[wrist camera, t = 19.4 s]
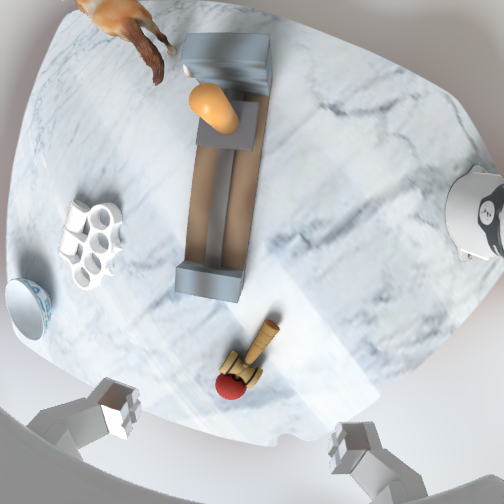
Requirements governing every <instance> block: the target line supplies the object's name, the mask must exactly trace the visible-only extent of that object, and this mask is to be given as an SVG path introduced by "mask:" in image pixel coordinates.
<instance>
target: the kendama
mask: <svg viewBox="0 0 504 504" xmlns="http://www.w3.org/2000/svg"><path fill="white" fill-rule="evenodd" d="M279 330H280V329H279V327H278V326H277V325H276V324H275V323H273V322H271V321H268V320H266V321H265V322H264V324H263V326H262V328H261V330H260V331H259V333H258V335H257V337H256V338H255V340H254V342H253V344H252V345H251V347H250V349H249V351H248V353H247V355H246V357H245V359H244V362H243V363H242V362H241V360H240V358H239V355H238V353H237V352H235V351H232V352H231V353H230V355H229V356H228V358H227V359H226V360H225V362H224V363H223V365H222V367H221V368H220V370H219V371H220V372H222V373H221V374H220V375H219V376H218V377H217V379H216V384H215V386H216V390H217V392H218V394H219V395H220V396H222V397H223V398H225V399H228V400H234V399H238V398H240V397H241V396H242V395H243V394H244V393H245V391H246V388H247V387H248V388H252V387H253V386H254V385H255V384H256V383H257V381H258V380H259V378H260V376H261V375H262V372H263V369H261V368H260V367H256V368H252V367H249V366H250V365H251V364H252V363H253V362H254V361H255V360H256V359H257V358H258V356H259V355H260V354H261V353H262V352H263V350H264V349H265V348H266V346H267V345H268V344H269V343H270V341H271V340H272V339H273V337H274V336H275V335H276V334H277V333H278V331H279Z"/></svg>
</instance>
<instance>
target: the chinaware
mask: <svg viewBox="0 0 504 504" xmlns="http://www.w3.org/2000/svg"><path fill="white" fill-rule="evenodd" d="M5 299H6V305H7V309H8V311H9V314H10V317H11V319H12V321H13V322H14V324H15V326H16V327H17V328H18V330H19V331H20V332H21V333H22V334H23V335H24V336H25V337H27V338H28V339H30V340H33V341H37V340H40V339H41V338H42V337H43V335H44V334H45V333H46V331H47V329H48V327H49V324H50V319H51V300H50V297H49V295H48V293H47V292H46V290H45V289H43V288H42V287H40V286H39V285H37V284H36V283H34V282H33V281H31V280H28V279H22V278H18V279H12V280H10V281H9V282H8V283H7V286H6V289H5Z"/></svg>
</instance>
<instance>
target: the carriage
mask: <svg viewBox="0 0 504 504" xmlns="http://www.w3.org/2000/svg"><path fill="white" fill-rule="evenodd" d="M189 105H190V107H191V109H192V110H193V111H194V112H195V113H196V114H198V115H199V116H200V120H199V126H198V132H197V139H196V145H198V146H201V147H213V148H224V149H234V150H243V151H251V152H253V148H254V141H255V134H256V128H257V121H258V114H259V103H256V102H246V101H234V100H228V99H227V97H226V96H225V94H224V92H223V91H222V89H221V88H220V87H219V86H218V85H216V84H214V83H203V84H200V85H198V86H197V87H195V88H194V89H193V90H192V92H191V94H190V96H189Z"/></svg>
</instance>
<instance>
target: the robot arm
mask: <svg viewBox="0 0 504 504" xmlns="http://www.w3.org/2000/svg"><path fill="white" fill-rule="evenodd" d="M445 216H446V225H447V229H448V232H449V234H450V236H451V238H452V240H453V241H454V243H455V244H456V246H457V251H458V255H459V258H460V260H462V261H476V260H489V259H501V258H503V259H504V178H503V177H502V176H501V175H498V174H490V173H489V172H488V171H487V170H485V169H484V168H483V167H482V166H480V165H474V166H473V167H472V169H471V170H470V172H469V173H468V174H467V175H465V176H463V177H461V178H459V179H458V180H457V181H456V182H455V183H454V185H453V186H452V188H451V190H450V192H449V195H448V198H447V202H446V210H445ZM468 254H469V256H468ZM139 395H140V394H139V389H137V388H134V387H132V386H129V385H126V384H123V383H121V382H118V381H115V380H113V379H110V378H107V377H106V378H104V379H103V380H102V381H101V382H100V383H99V385H98V386H97V387H96V388H95V389H94V391H93V392H92V393H91V394H90V395H89V397H88V398H87V399H86V398H81V399H78V400H75V401H71V402H68V403H65V404H61V405H58V406H55V407H51V408H48V409H44V410H41V411H40V412H39V413H38V414H37V416H35V417H34V418H33V420H32V421H31V422H30V423H29V424H28V425H27V426H24V425H23V424H22V423H20V422H19V421H17V420H16V419H15V418H14V417H12V416H11V415H10V414H8V413H7V412H6V411H5V410H3V409H2V408H1V407H0V504H203V503H199V502H195V501H190V500H186V499H182V498H178V497H175V496H171V495H168V494H164V493H161V492H158V491H154V490H151V489H148V488H145V487H143V486H139V485H137V484H134V483H132V482H129V481H126V480H124V479H121V478H119V477H116V476H114V475H112V474H109V473H107V472H105V471H103V470H100V469H98V468H96V467H94V466H92V465H90V464H88V463H86V462H84V461H83V459H82V457H81V455H80V453H79V451H78V449H80V448H82V447H84V446H86V445H88V444H90V443H92V442H94V441H95V440H97V439H99V438H101V437H103V436H105V435H107V434H108V433H111V434H114V435H117V436H120V437H122V438H125V439H127V438H128V436H129V434H130V432H131V430H132V429H133V428H132V423H135V422H137V420H138V418H139V416H140V412H141V402H140V401H139V400H138V397H139ZM335 431H336V432H335V433H333V434H332V435H331V437H330V439H329V442H328V454H329V455H330V456H331V457H332V459H331V460H330V462H329V463H330V470H331V474H350V475H351V476H352V478H353V479H354V480H355V481H356V482H357V484H358V485H359V486H360V487H361V488H362V489H363V490H364V491H365V493H366V494H367V495H368V496H369V497H370V498H371V499H372V501H371V502H370V503H369V504H504V480H502V479H501V478H499V477H497V476H495V475H491V474H490V475H486V476H483V477H481V478H479V479H476V480H474V481H471V482H469V483H467V484H464V485H461V486H459V487H456V488H453V489H450V490H448V491H444V492H441V493H438V494H435V495H432V496H428V494H427V491H426V488H425V485H424V483H423V480H422V477H421V475H419V474H418V473H417V472H415V471H414V470H413V469H411V468H410V467H409V466H407V465H406V464H405V463H403V462H402V461H401V460H399V459H398V458H397V457H396V456H394V455H393V454H392V453H390V452H389V451H388V450H387V449H383V448H382V445H381V442H380V439H379V436H378V433H377V430H376V427H375V424H374V423H373V422H339V423H338V424H337V425H336V427H335Z"/></svg>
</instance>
